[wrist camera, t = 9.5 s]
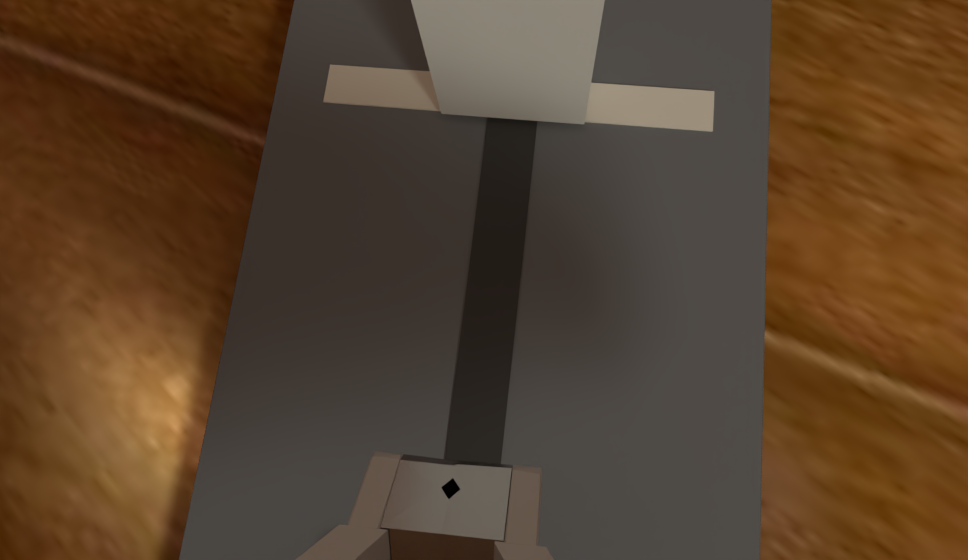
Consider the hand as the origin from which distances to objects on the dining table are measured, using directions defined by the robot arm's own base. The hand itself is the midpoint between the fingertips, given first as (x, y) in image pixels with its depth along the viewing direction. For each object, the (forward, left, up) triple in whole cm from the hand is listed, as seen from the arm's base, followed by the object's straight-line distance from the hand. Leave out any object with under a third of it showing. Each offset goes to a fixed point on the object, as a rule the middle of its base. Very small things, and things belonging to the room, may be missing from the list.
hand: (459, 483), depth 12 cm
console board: (0, +6, -6) cm, 9 cm away
